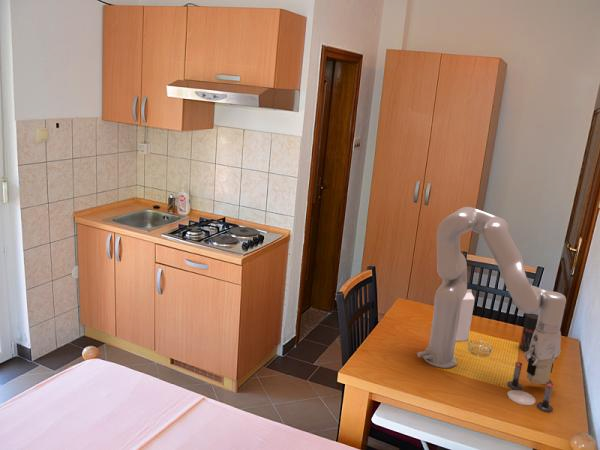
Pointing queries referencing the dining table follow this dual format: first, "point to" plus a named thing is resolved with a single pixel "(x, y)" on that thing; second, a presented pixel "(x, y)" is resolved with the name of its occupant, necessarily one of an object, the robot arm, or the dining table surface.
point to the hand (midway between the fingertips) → (539, 372)
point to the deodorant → (528, 331)
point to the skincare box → (541, 371)
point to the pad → (521, 397)
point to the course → (515, 385)
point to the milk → (465, 316)
